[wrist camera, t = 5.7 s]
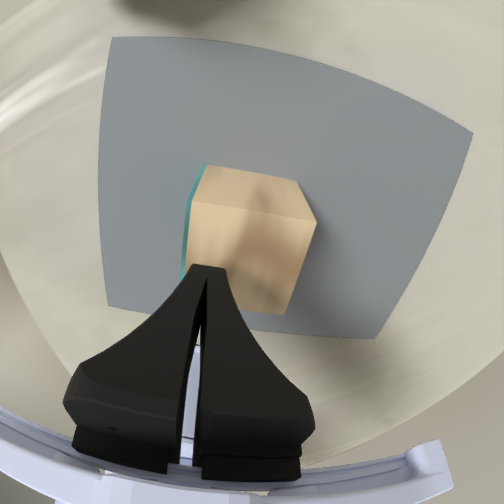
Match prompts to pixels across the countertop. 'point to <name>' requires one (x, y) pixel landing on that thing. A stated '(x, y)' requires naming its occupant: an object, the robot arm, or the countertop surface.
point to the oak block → (248, 234)
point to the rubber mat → (270, 173)
